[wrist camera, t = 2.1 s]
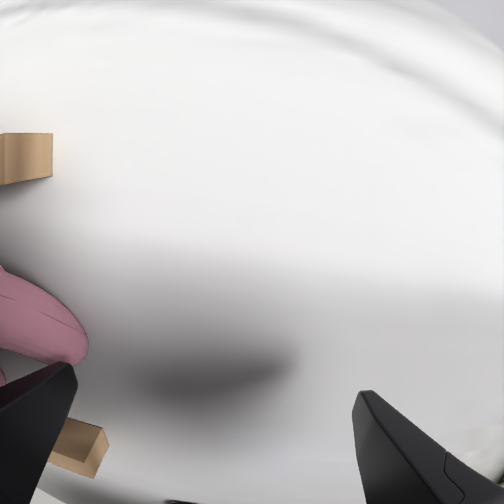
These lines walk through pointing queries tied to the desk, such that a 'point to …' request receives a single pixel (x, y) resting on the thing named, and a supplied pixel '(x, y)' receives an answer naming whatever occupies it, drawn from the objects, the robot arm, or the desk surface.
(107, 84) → the desk surface
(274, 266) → the desk surface
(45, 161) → the pair of wooden bars
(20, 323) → the video game controller
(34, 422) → the robot arm
